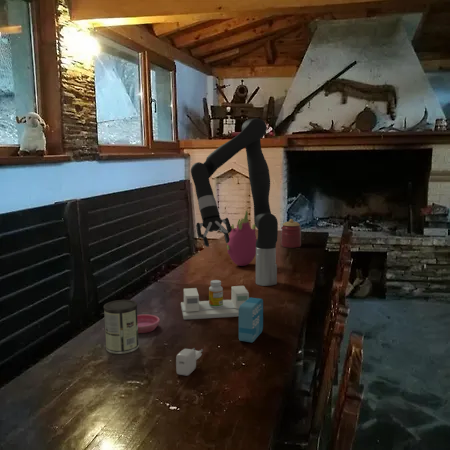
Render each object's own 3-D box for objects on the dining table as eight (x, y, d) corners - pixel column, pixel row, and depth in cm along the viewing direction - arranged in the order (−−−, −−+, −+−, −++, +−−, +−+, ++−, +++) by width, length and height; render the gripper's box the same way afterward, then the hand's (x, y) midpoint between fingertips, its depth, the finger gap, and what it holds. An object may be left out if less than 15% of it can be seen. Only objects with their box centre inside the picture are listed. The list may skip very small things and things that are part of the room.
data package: (251, 344, 155) (251, 308, 153) (238, 342, 157) (238, 306, 155) (263, 331, 166) (263, 297, 164) (250, 329, 168) (250, 296, 166)
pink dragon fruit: (253, 261, 268) (253, 208, 264) (262, 267, 256) (262, 210, 251) (222, 264, 263) (222, 209, 258) (230, 270, 250) (230, 212, 246)
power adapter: (191, 358, 144) (190, 340, 143) (206, 361, 143) (205, 342, 142) (173, 374, 134) (173, 354, 133) (189, 377, 132) (189, 357, 131)
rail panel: (244, 302, 197) (244, 283, 196) (253, 315, 181) (253, 295, 180) (180, 305, 193) (180, 286, 192) (183, 319, 178) (183, 298, 176)
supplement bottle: (208, 303, 190) (208, 279, 188) (222, 303, 190) (222, 279, 189) (209, 308, 184) (209, 283, 183) (223, 307, 185) (223, 283, 183)
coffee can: (116, 339, 159) (115, 298, 157) (144, 343, 156) (143, 301, 154) (98, 351, 150) (96, 307, 148) (128, 356, 146) (126, 311, 144)
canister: (281, 243, 319) (281, 217, 316) (300, 244, 317) (301, 217, 314) (280, 247, 306) (280, 220, 303) (301, 248, 304) (301, 220, 301)
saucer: (125, 337, 162) (125, 328, 161) (122, 324, 174) (122, 315, 173) (162, 333, 165) (162, 324, 165) (157, 320, 177) (157, 312, 176)
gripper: (193, 207, 198) (202, 245, 193) (226, 202, 202) (236, 238, 197) (190, 214, 205) (199, 250, 200) (222, 208, 209) (232, 244, 204)
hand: (217, 244), depth 199 cm, fingers open, 8 cm apart
